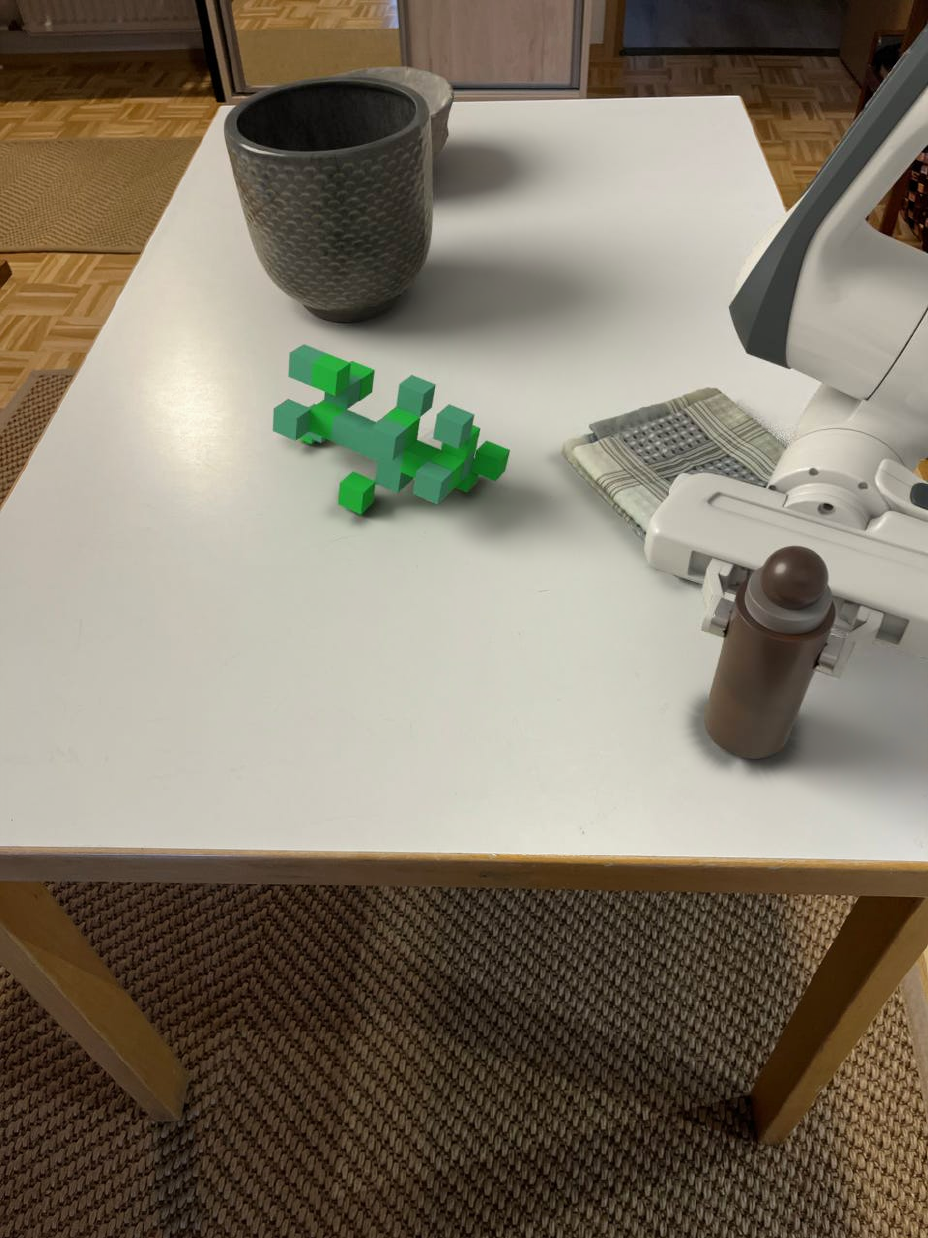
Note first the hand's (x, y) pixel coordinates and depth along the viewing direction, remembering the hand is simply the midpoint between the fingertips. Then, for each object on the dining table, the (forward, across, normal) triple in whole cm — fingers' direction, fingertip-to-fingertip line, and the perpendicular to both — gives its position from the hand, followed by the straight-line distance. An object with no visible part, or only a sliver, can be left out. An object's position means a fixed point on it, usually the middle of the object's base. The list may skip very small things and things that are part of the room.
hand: (770, 648), depth 55 cm
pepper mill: (-1, 0, +9) cm, 9 cm away
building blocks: (-12, -35, +10) cm, 39 cm away
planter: (-37, -55, +10) cm, 67 cm away
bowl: (-64, -69, +9) cm, 95 cm away
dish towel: (-24, -12, +10) cm, 28 cm away
